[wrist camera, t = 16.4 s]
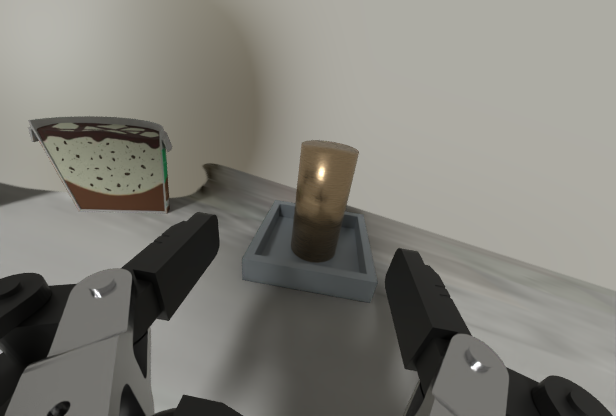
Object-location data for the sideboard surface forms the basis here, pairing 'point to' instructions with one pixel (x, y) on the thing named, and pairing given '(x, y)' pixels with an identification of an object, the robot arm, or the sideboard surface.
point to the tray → (309, 275)
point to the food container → (108, 161)
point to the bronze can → (321, 198)
